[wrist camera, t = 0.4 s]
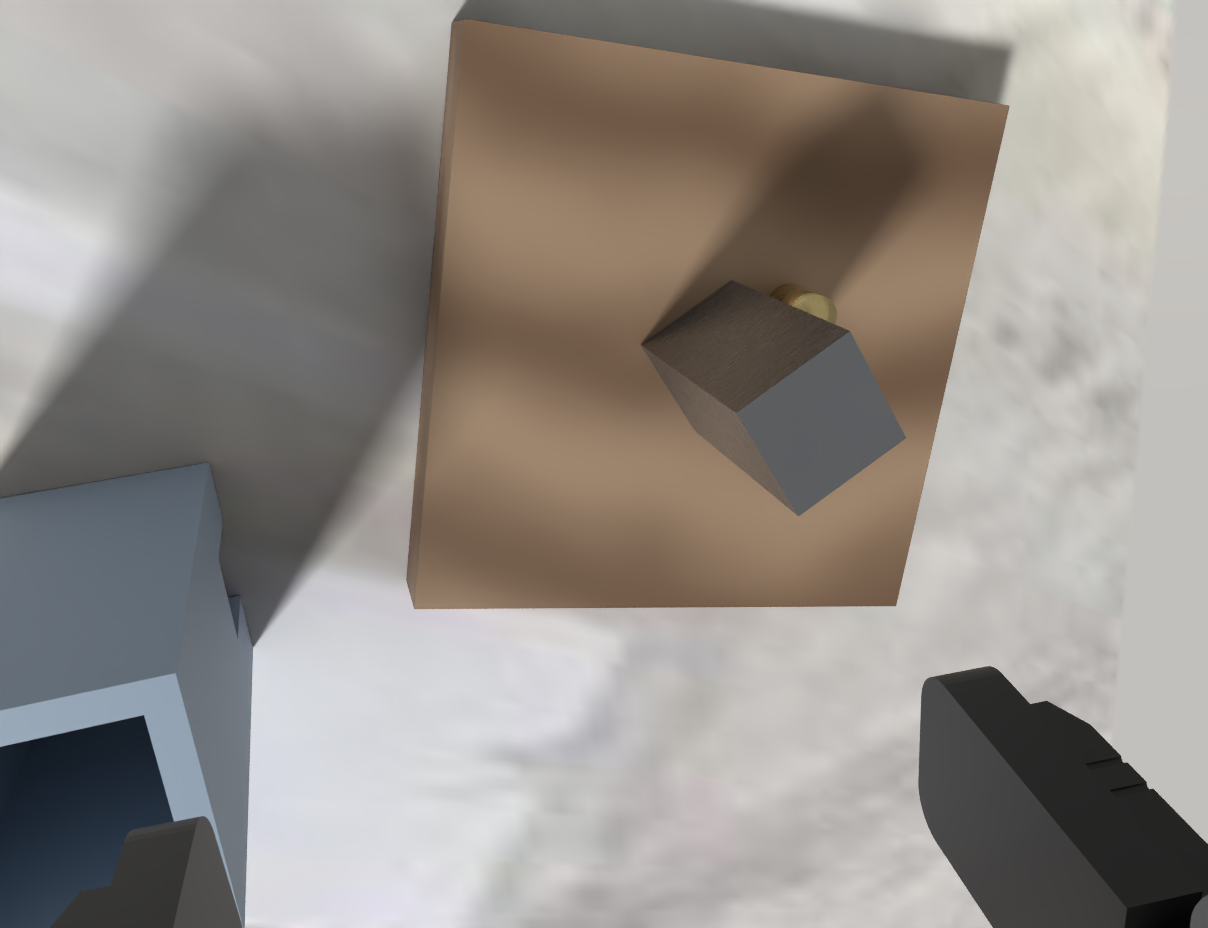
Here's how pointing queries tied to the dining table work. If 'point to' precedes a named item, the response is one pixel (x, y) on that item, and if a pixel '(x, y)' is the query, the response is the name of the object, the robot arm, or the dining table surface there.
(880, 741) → the dining table surface
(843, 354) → the post
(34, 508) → the sleeve
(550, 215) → the base plate
